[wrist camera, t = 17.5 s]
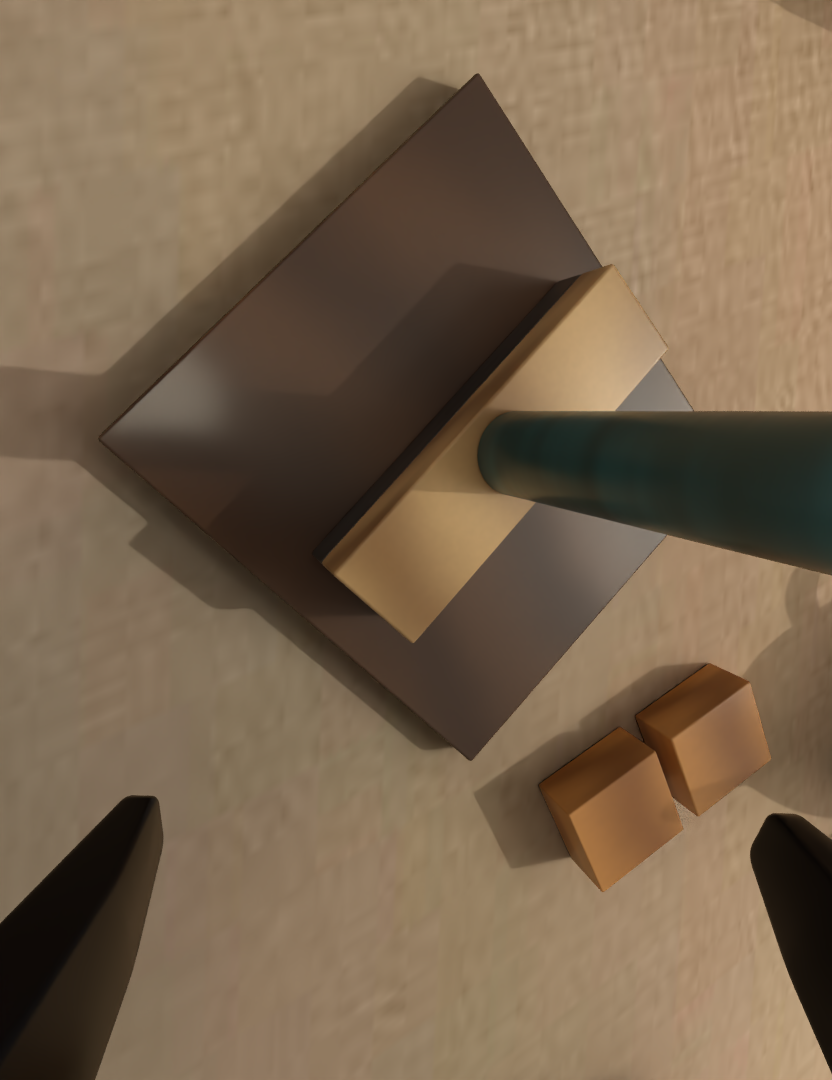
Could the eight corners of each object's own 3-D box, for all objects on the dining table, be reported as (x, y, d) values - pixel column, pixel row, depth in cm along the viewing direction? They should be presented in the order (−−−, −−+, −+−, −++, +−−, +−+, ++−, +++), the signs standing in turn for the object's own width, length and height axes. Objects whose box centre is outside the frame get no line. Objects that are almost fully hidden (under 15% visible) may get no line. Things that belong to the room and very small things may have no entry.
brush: (382, 616, 19) (707, 922, 8) (310, 553, 18) (567, 803, 7) (611, 355, 20) (1184, 285, 9) (557, 280, 19) (1140, 88, 8)
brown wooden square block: (571, 858, 25) (603, 893, 23) (537, 784, 24) (568, 815, 22) (647, 800, 26) (684, 829, 24) (619, 725, 25) (656, 750, 23)
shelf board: (458, 748, 22) (471, 762, 21) (99, 437, 16) (95, 438, 15) (707, 462, 24) (729, 464, 23) (462, 88, 18) (478, 70, 17)
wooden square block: (661, 789, 26) (698, 817, 24) (634, 715, 25) (671, 739, 23) (731, 736, 27) (772, 759, 25) (709, 661, 26) (750, 681, 24)
